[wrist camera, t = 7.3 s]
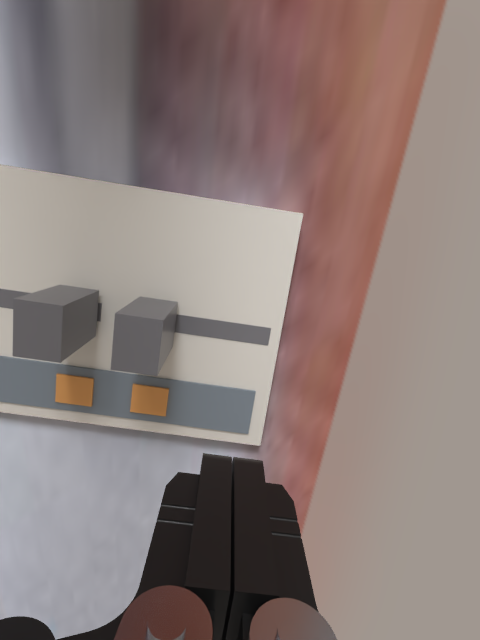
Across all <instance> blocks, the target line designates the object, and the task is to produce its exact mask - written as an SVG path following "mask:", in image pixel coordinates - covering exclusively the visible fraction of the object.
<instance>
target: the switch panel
mask: <svg viewBox="0 0 480 640" xmlns="http://www.w3.org/2000/svg"><path fill="white" fill-rule="evenodd" d="M302 218H303V213H296V212H290V211H284V210H278V209H272V208H266V207H259V206H253V205H247V204H241V203H235V202H229V201H222V200H216V199H210V198H204V197H198V196H192V195H185V194H179V193H173V192H167V191H161V190H155V189H148V188H142V187H136V186H130V185H124V184H118V183H111V182H105V181H99V180H93V179H87V178H81V177H74V176H68V175H62V174H56V173H50V172H44V171H37V170H31V169H25V168H19V167H13V166H7V165H1V164H0V412H3V413H10V414H18V415H26V416H33V417H41V418H49V419H57V420H64V421H72V422H80V423H87V424H95V425H103V426H110V427H118V428H126V429H134V430H141V431H149V432H157V433H164V434H172V435H180V436H187V437H195V438H203V439H211V440H218V441H226V442H234V443H241V444H249V445H257V446H260V444H261V438H262V433H263V428H264V422H265V417H266V412H267V406H268V401H269V395H270V390H271V385H272V379H273V374H274V368H275V363H276V358H277V352H278V347H279V342H280V336H281V331H282V325H283V320H284V315H285V309H286V304H287V298H288V293H289V288H290V282H291V277H292V272H293V266H294V261H295V255H296V250H297V245H298V239H299V234H300V228H301V223H302ZM57 285H67V286H73V287H80V288H87V289H94V290H99V298H98V313H97V328H96V336H95V337H94V338H93V339H91V340H90V341H89V342H87V343H86V344H85V345H83V346H82V347H81V348H80V349H78V350H77V351H76V352H74V353H73V354H72V355H70V356H69V357H68V358H66V359H65V360H64V361H62V362H61V363H58V362H50V361H43V360H36V359H29V358H21V357H14V356H13V299H14V298H17V297H20V296H24V295H27V294H30V293H34V292H37V291H40V290H44V289H47V288H50V287H54V286H57ZM140 296H141V297H148V298H155V299H161V300H168V301H175V302H178V307H177V316H176V324H175V333H174V341H173V348H172V349H171V351H170V353H169V355H168V357H167V359H166V361H165V363H164V364H163V366H162V368H161V370H160V372H159V374H158V376H152V375H145V374H138V373H131V372H123V371H116V370H111V358H112V345H113V332H114V320H115V313H116V312H118V311H119V310H121V309H122V308H124V307H125V306H127V305H128V304H129V303H131V302H132V301H134V300H135V299H137V298H138V297H140Z"/></svg>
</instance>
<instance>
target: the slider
mask: <svg viewBox="0 0 480 640" xmlns="http://www.w3.org/2000/svg"><path fill="white" fill-rule="evenodd" d="M177 307H178V302H175V301H168V300H161V299H155V298H148V297H141V296H140V297H138V298H137V299H135V300H134V301H132V302H131V303H129V304H128V305H127V306H125V307H124V308H122V309H121V310H119V311H118V312H116V313H115V320H114V332H113V345H112V358H111V370H116V371H123V372H131V373H138V374H145V375H152V376H158V374H159V372H160V370H161V368H162V366H163V364H164V363H165V361H166V359H167V357H168V355H169V353H170V351H171V349H172V348H173V341H174V333H175V324H176V316H177Z"/></svg>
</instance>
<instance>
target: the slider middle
mask: <svg viewBox="0 0 480 640" xmlns="http://www.w3.org/2000/svg"><path fill="white" fill-rule="evenodd" d="M98 298H99V290H94V289H87V288H80V287H73V286H67V285H57V286H54V287H50V288H47V289H44V290H40V291H37V292H34V293H30V294H27V295H24V296H20V297H17V298H14V299H13V356H14V357H21V358H29V359H36V360H43V361H50V362H58V363H61V362H62V361H64V360H65V359H66V358H68V357H69V356H70V355H72V354H73V353H74V352H76V351H77V350H78V349H80V348H81V347H82V346H83V345H85V344H86V343H87V342H89V341H90V340H91V339H93V338H94V337H95V336H96V328H97V313H98Z"/></svg>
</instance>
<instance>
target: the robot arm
mask: <svg viewBox="0 0 480 640" xmlns="http://www.w3.org/2000/svg"><path fill="white" fill-rule="evenodd" d="M0 640H55V638H54V636H53V634H52V632H51V630H50V629H49V628H48V627H47V626H46V625H45V624H44V623H42V622H41V621H39V620H37V619H34V618H30V617H11V618H5V619H2V620H0ZM57 640H337V639H336V636H335V634H334V632H333V630H332V629H331V627H330V625H329V624H328V623H327V621H326V620H325V619H324V618H323V617H322V616H321V614H320V613H319V612H318V610H317V606H316V602H315V598H314V594H313V589H312V584H311V580H310V575H309V570H308V566H307V561H306V557H305V552H304V547H303V543H302V539H301V534H300V529H299V524H298V523H297V515H296V511H295V506H294V501H293V500H292V498H291V497H290V496H289V494H288V493H287V491H286V490H285V489H284V487H283V486H282V485H279V484H271V483H265V475H264V467H263V461H260V460H253V459H245V458H237V457H234V458H233V461H232V457H228V456H220V455H212V454H204V453H203V458H202V465H201V471H200V475H197V474H189V473H181V472H178V473H177V474H176V476H175V477H174V478H173V479H172V480H171V481H170V482H169V483H168V484H167V485H166V488H165V492H164V495H163V499H162V503H161V507H160V511H159V514H158V518H157V522H156V526H155V529H154V533H153V537H152V541H151V544H150V548H149V552H148V556H147V559H146V563H145V567H144V571H143V574H142V578H141V582H140V586H139V588H138V591H137V593H136V595H135V597H134V599H133V601H132V602H131V603H130V605H129V606H128V607H127V608H126V609H125V611H124V612H123V613H122V614H120V615H119V616H118V617H117V618H116V619H114V620H113V621H111V622H110V623H108V624H106V625H104V626H102V627H100V628H98V629H95V630H92V631H89V632H85V633H81V634H77V635H73V636H69V637H65V638H61V639H57Z"/></svg>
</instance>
